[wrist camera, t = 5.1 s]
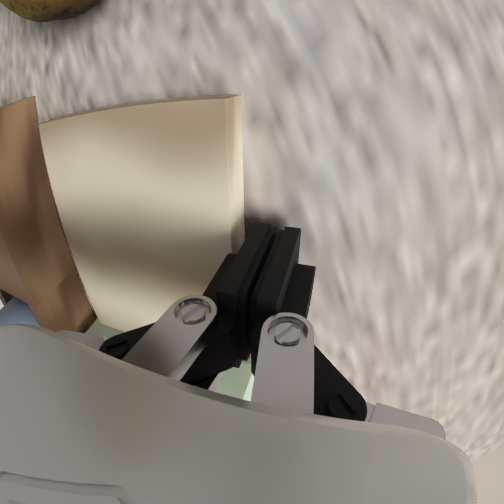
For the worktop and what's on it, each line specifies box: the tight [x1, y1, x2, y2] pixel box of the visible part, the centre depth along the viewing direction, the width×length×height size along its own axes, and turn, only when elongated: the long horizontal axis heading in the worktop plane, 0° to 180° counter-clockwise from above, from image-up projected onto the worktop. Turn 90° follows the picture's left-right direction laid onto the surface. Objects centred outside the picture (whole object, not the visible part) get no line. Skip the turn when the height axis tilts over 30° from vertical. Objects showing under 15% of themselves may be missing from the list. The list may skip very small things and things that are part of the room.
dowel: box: [0, 297, 40, 327], centre depth 14 cm, size 3×3×12 cm
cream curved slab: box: [38, 95, 245, 332], centre depth 13 cm, size 12×9×2 cm
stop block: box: [0, 96, 96, 333], centre depth 15 cm, size 16×6×4 cm, turn 0°
